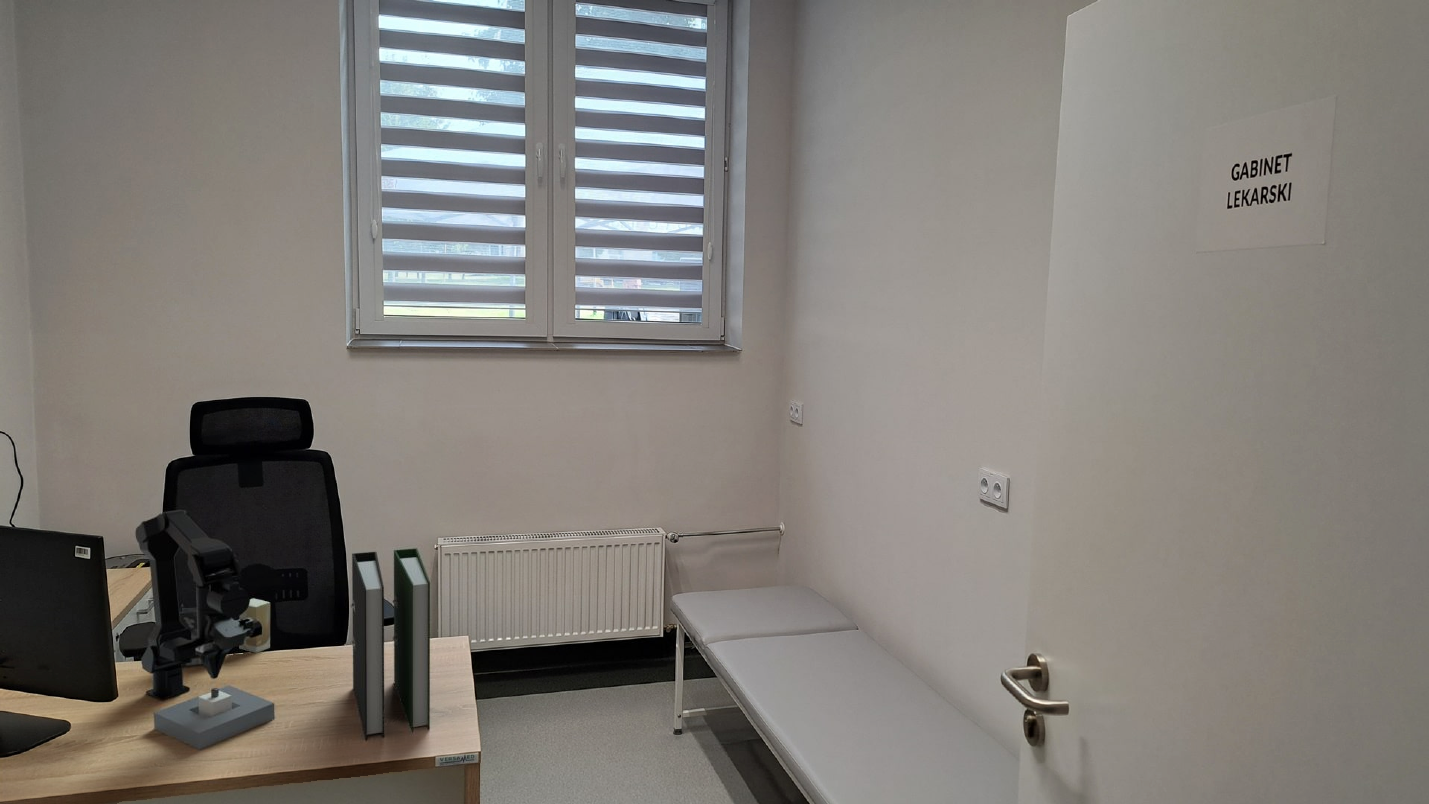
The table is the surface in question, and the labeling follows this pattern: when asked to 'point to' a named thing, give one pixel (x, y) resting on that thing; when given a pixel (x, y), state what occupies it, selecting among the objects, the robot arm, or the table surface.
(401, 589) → the books
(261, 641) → the skincare box
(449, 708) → the table surface
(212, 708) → the plug
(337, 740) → the table surface
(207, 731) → the socket
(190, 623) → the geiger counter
